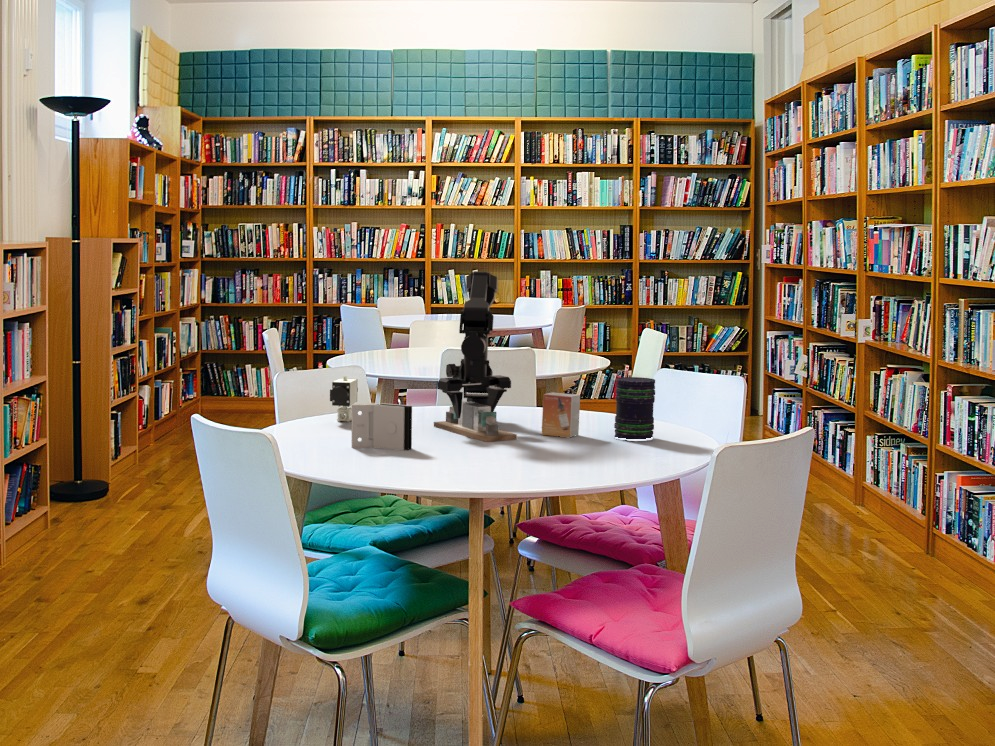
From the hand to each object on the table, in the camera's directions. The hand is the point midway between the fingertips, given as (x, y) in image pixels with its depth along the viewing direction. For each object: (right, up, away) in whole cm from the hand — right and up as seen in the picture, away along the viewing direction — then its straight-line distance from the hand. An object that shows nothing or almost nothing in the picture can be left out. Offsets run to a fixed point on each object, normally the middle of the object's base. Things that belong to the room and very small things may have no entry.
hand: (474, 417), depth 271 cm
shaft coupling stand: (0, -4, 0) cm, 4 cm away
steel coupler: (0, -3, 0) cm, 3 cm away
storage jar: (+40, -5, -3) cm, 41 cm away
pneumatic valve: (-35, -2, +15) cm, 39 cm away
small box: (+22, -5, -1) cm, 22 cm away
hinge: (-21, -6, -23) cm, 32 cm away
